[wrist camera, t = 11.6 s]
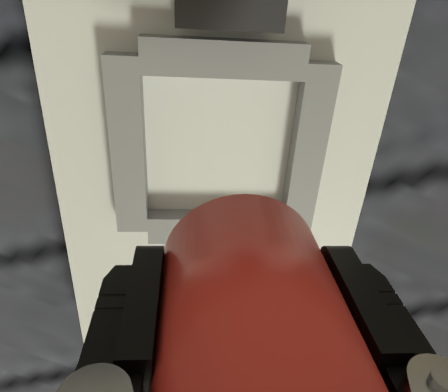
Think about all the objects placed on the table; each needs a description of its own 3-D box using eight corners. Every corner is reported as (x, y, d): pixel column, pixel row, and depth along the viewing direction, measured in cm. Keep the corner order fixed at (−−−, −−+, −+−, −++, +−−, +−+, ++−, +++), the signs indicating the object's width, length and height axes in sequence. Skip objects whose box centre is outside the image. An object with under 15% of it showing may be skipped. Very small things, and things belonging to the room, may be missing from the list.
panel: (110, 338, 33) (87, 440, 25) (46, -154, 17) (-59, -254, 10) (293, 333, 34) (321, 429, 27) (384, -123, 19) (508, -190, 12)
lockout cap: (160, 192, 10) (127, 432, 5) (327, 194, 10) (470, 416, 5) (164, 316, 12) (144, 576, 7) (302, 314, 12) (383, 556, 7)
